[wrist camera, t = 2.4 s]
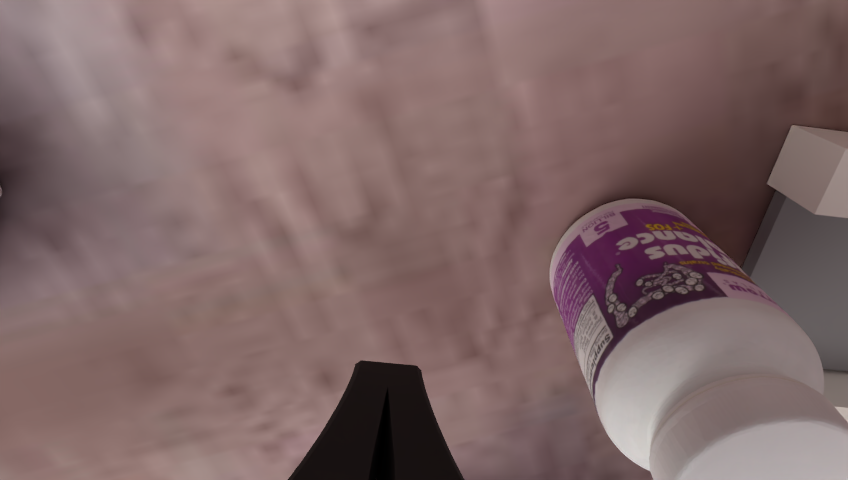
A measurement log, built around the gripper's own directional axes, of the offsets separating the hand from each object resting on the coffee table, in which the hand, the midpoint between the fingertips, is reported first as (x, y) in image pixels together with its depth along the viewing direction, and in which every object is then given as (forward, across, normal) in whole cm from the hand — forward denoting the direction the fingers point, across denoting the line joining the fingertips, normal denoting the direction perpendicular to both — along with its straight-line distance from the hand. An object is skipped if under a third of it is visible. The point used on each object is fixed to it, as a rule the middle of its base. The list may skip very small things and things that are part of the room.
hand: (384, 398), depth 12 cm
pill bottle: (+8, -8, 0) cm, 11 cm away
